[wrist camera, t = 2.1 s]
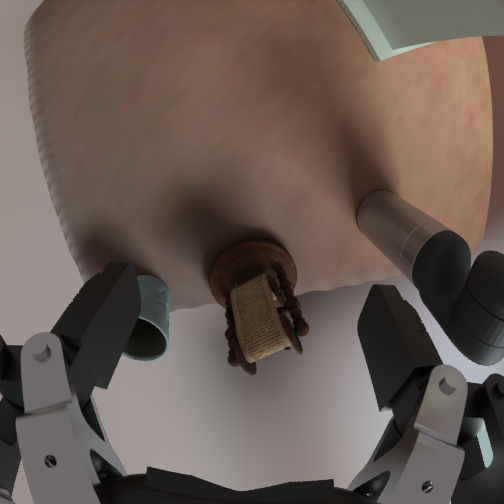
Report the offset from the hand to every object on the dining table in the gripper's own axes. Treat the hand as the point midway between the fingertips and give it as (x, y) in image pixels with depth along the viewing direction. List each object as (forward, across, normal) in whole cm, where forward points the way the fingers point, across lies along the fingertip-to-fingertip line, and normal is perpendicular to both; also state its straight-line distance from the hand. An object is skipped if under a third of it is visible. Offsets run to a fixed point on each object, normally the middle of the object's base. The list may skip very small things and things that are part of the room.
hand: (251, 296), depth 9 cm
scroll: (+34, 0, +22) cm, 40 cm away
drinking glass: (+31, +18, +27) cm, 45 cm away
